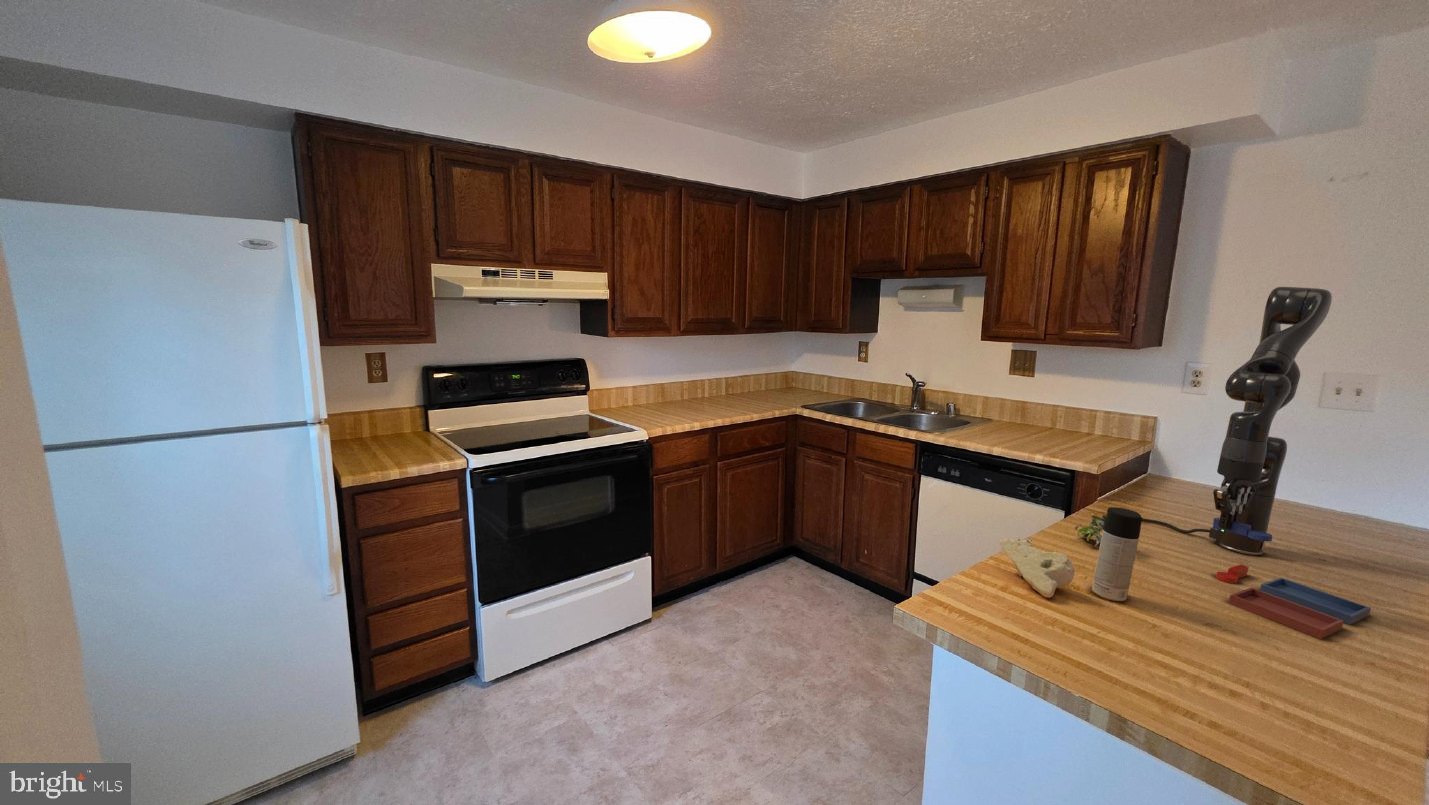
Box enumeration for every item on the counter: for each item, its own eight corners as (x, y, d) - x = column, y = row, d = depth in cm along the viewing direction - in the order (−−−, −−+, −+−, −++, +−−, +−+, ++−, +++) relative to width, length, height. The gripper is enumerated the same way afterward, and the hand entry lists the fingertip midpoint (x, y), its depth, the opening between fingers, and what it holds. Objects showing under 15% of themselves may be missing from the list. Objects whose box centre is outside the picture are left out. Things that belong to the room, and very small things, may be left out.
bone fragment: (1080, 612, 124) (1078, 552, 133) (1072, 595, 120) (1070, 534, 129) (1005, 607, 133) (1007, 551, 142) (996, 591, 130) (999, 535, 139)
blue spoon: (1275, 540, 127) (1276, 530, 127) (1266, 542, 125) (1267, 531, 125) (1219, 526, 137) (1220, 517, 136) (1209, 528, 135) (1210, 518, 135)
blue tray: (1259, 591, 134) (1261, 584, 134) (1278, 584, 139) (1280, 577, 139) (1350, 625, 121) (1352, 616, 121) (1368, 616, 125) (1371, 607, 125)
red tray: (1228, 603, 128) (1230, 594, 127) (1249, 595, 132) (1251, 587, 132) (1321, 639, 114) (1323, 630, 114) (1341, 629, 119) (1343, 620, 119)
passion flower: (1110, 564, 158) (1147, 541, 151) (1087, 562, 154) (1124, 538, 147) (1084, 530, 166) (1118, 506, 159) (1061, 527, 162) (1095, 502, 154)
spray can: (1123, 592, 130) (1138, 510, 127) (1130, 605, 124) (1147, 519, 121) (1089, 585, 133) (1103, 504, 129) (1094, 597, 127) (1110, 513, 123)
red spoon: (1232, 584, 137) (1234, 575, 137) (1212, 577, 141) (1214, 568, 141) (1252, 578, 142) (1254, 569, 142) (1233, 571, 146) (1235, 562, 145)
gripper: (1238, 451, 137) (1223, 519, 140) (1206, 454, 131) (1191, 524, 134) (1278, 460, 130) (1262, 530, 133) (1246, 463, 125) (1229, 537, 128)
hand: (1226, 527), depth 134 cm, fingers closed on blue spoon, 1 cm apart
